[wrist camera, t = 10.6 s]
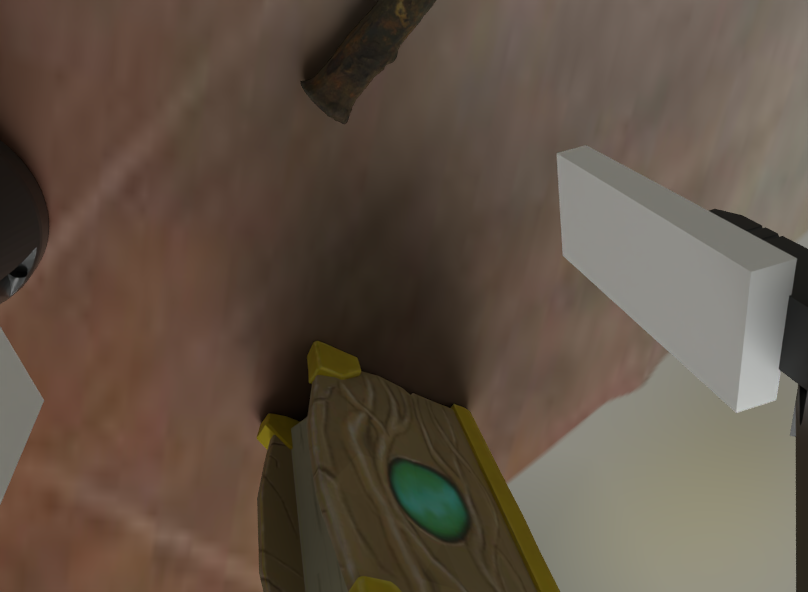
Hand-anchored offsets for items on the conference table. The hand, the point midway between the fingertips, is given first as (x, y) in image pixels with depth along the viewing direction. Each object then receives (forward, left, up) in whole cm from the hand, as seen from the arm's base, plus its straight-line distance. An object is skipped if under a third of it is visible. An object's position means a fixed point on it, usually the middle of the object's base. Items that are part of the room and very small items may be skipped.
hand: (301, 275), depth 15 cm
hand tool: (+10, +2, -37) cm, 38 cm away
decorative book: (+2, -34, -37) cm, 50 cm away
